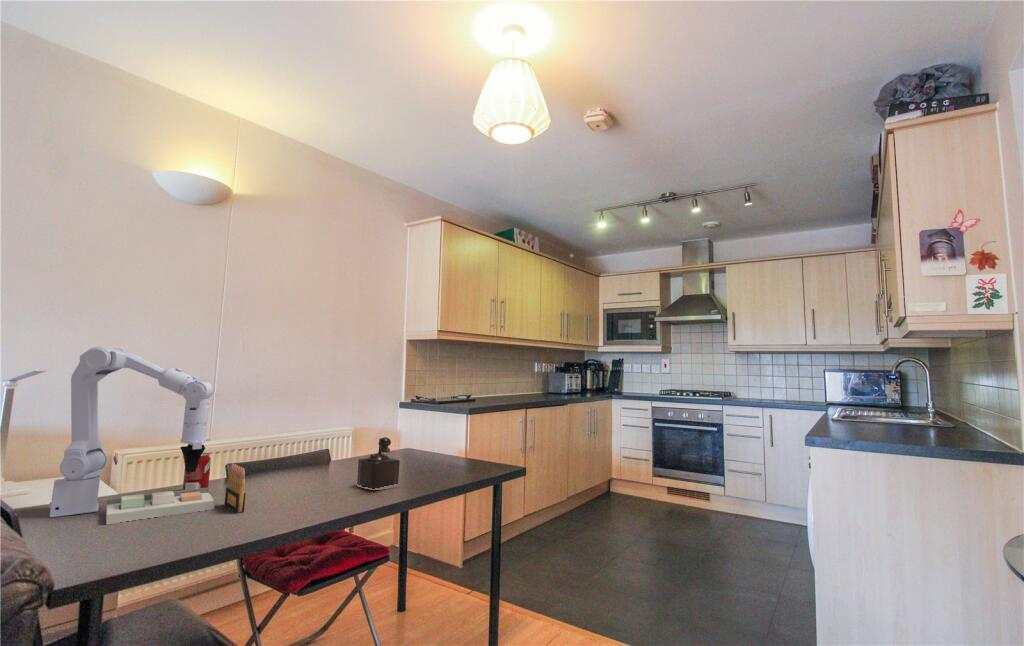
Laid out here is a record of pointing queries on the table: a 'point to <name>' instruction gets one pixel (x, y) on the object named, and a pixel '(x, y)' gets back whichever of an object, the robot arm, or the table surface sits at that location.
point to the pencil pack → (235, 489)
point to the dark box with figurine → (378, 468)
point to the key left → (132, 501)
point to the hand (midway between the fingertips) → (190, 471)
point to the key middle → (162, 498)
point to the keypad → (158, 507)
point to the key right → (190, 496)
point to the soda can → (198, 474)
